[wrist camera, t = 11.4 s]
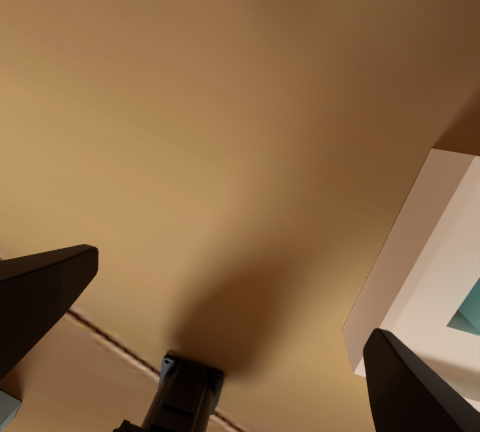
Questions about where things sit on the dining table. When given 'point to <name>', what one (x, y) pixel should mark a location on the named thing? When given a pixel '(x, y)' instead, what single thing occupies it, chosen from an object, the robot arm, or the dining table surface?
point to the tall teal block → (472, 306)
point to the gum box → (7, 409)
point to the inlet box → (428, 275)
